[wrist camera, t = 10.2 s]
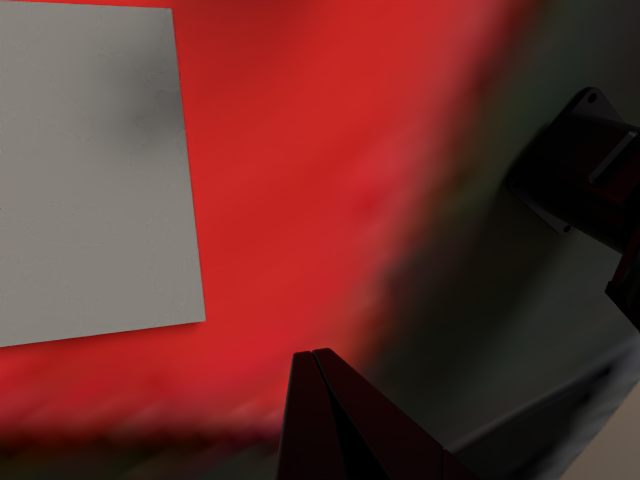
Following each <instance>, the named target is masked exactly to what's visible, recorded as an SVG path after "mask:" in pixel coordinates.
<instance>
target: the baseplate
mask: <svg viewBox="0 0 640 480" xmlns="http://www.w3.org/2000/svg"><path fill="white" fill-rule="evenodd" d="M200 321H206V311H205V301H204V291H203V282H202V273H201V264H200V255H199V246H198V237H197V228H196V219H195V209H194V200H193V191H192V182H191V173H190V164H189V155H188V146H187V137H186V127H185V118H184V109H183V100H182V91H181V82H180V73H179V64H178V55H177V46H176V36H175V27H174V18H173V9H169V8H148V7H126V6H105V5H83V4H62V3H41V2H19V1H0V347H5V346H13V345H20V344H28V343H36V342H44V341H52V340H59V339H67V338H75V337H83V336H91V335H99V334H106V333H114V332H122V331H130V330H138V329H146V328H153V327H161V326H169V325H177V324H185V323H193V322H200Z"/></svg>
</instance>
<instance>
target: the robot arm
mask: <svg viewBox="0 0 640 480" xmlns="http://www.w3.org/2000/svg"><path fill="white" fill-rule="evenodd" d="M589 96H590V98H589ZM588 98H589V100H588ZM516 180H517V182H516V184H514V182H515V181H516ZM505 186H506V188H507V189H508V190H509V191H510V192H511V193H512V194H514V195H515V196H516V197H517V198H518V199H519V200H520V201H522V202H523V203H524V204H525V205H526V206H527V207H528V208H529V209H531V210H532V211H533V212H534V213H535V214H536V215H537V216H539V217H540V218H541V219H542V220H543V221H544V222H545V223H546V224H548V225H549V226H550V227H551V228H552V229H553V230H554V231H556V232H557V233H558V234H560V235H562V236H567V235H569V234H570V233H571V232H572V231H573V230H574V229H575V228H576V229H578V230H580V231H582V232H583V233H585V234H587V235H589V236H590V237H592V238H594V239H596V240H598V241H599V242H601V243H603V244H605V245H606V246H608V247H610V248H612V249H613V250H615V251H617V252H619V253H621V254H622V258H621V260H620V262H619V265H618V267H617V269H616V271H615V274H614V276H613V278H612V281H609V282H608V285H607V287H606V289H605V293H606V294H607V295H608V296H609V297H610V299H611V300H612V301H613V302H614V303H615V304H616V305H617V307H618V308H619V309H620V310H621V311H622V312H623V313H624V314H625V316H626V317H627V318H628V319H629V320H630V321H631V322H632V324H633V325H634V326H635V327H636V328H637V329H638V330H639V333H640V127H636V126H633V125H629V124H625V123H624V121H623V120H622V119H621V117H620V116H619V115H618V113H617V112H616V111H615V109H614V108H613V107H612V105H611V104H610V103H609V101H608V100H607V99H606V98H605V96H604V95H603V94H602V92H601V91H600V90H599V89H598V88H594V87H587V88H585V89H583V90H582V91H581V92H580V94H579V95H578V96H577V97H576V98H575V99H574V101H573V102H572V103H571V104H570V105H569V106H568V108H567V109H566V110H565V111H564V112H563V113H562V115H561V116H560V117H559V118H558V119H557V120H556V122H555V123H554V124H553V125H552V126H551V127H550V128H549V130H548V131H547V132H546V133H545V134H544V135H543V137H542V138H541V139H540V140H539V141H538V142H537V144H536V145H535V146H534V147H533V148H532V149H531V151H530V152H529V153H528V154H527V155H526V156H525V158H524V159H523V160H522V161H521V162H520V163H519V165H518V166H517V167H516V168H515V169H514V170H513V171H512V173H511V174H510V175H509V176H508V178H507V179H506V182H505ZM274 480H482V479H481V478H480V477H478V476H477V475H476V474H475V473H474V472H472V471H471V470H470V469H469V468H468V467H466V466H465V465H464V464H463V463H461V462H460V461H459V460H458V459H457V458H456V457H455V456H453V455H452V454H451V453H450V452H449V451H448V450H446V449H444V450H443V446H442V445H441V444H439V443H438V442H437V441H436V440H435V439H434V438H433V437H431V436H430V435H429V434H428V433H427V432H426V431H424V430H423V429H422V428H421V427H420V426H419V425H418V424H416V423H415V422H414V421H413V420H412V419H411V418H410V417H408V416H407V415H406V414H405V413H404V412H403V411H401V410H400V409H399V408H398V407H397V406H396V405H395V404H393V403H392V402H391V401H390V400H389V399H388V398H387V397H385V396H384V395H383V394H382V393H381V392H380V391H379V390H377V389H376V388H375V387H374V386H373V385H372V384H370V383H369V382H368V381H367V380H366V379H365V378H364V377H362V376H361V375H360V374H359V373H358V372H357V371H356V370H354V369H353V368H352V367H351V366H350V365H349V364H348V363H346V362H345V361H344V360H343V359H342V358H341V357H339V356H338V355H337V354H336V353H335V352H334V351H333V350H331V349H330V348H322V349H316V350H313V351H312V352H310V351H303V352H297V353H294V354H293V357H292V363H291V370H290V377H289V383H288V390H287V397H286V403H285V410H284V417H283V423H282V430H281V437H280V443H279V450H278V457H277V463H276V470H275V477H274Z"/></svg>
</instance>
